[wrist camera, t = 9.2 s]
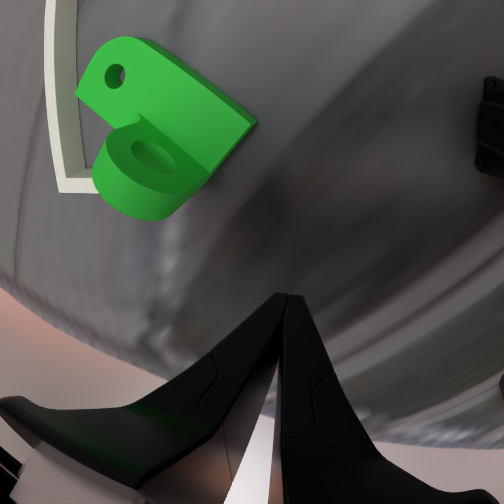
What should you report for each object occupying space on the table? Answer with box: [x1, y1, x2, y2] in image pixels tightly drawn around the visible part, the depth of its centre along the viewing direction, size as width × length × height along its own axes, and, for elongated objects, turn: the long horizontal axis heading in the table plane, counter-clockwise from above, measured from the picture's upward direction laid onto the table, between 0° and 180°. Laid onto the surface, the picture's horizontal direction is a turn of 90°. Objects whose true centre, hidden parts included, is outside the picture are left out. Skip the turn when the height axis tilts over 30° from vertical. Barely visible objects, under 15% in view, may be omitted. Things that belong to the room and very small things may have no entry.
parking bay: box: [44, 0, 98, 193], centre depth 17 cm, size 10×19×2 cm, turn 0°
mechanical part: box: [75, 37, 257, 221], centre depth 16 cm, size 12×6×8 cm, turn 50°
